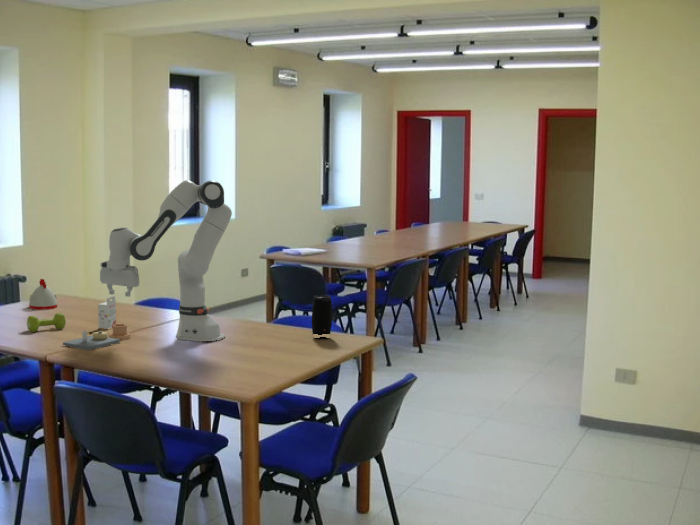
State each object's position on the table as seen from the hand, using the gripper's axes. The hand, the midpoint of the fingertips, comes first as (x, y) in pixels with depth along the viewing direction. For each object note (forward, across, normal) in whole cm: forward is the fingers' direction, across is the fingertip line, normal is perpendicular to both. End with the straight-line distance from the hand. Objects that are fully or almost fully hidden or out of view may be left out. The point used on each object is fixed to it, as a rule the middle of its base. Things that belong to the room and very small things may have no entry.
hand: (119, 295), depth 365 cm
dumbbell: (+20, +38, +7) cm, 43 cm away
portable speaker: (+19, -74, -53) cm, 93 cm away
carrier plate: (+19, 0, +17) cm, 26 cm away
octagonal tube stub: (+19, 0, 0) cm, 19 cm away
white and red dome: (+19, +83, -32) cm, 91 cm away
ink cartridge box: (+19, +20, -13) cm, 31 cm away
